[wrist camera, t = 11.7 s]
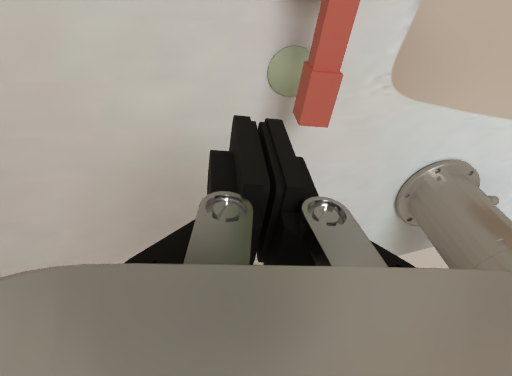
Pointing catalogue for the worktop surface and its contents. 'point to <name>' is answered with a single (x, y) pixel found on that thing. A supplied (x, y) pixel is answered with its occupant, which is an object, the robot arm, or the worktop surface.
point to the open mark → (287, 70)
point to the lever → (324, 63)
